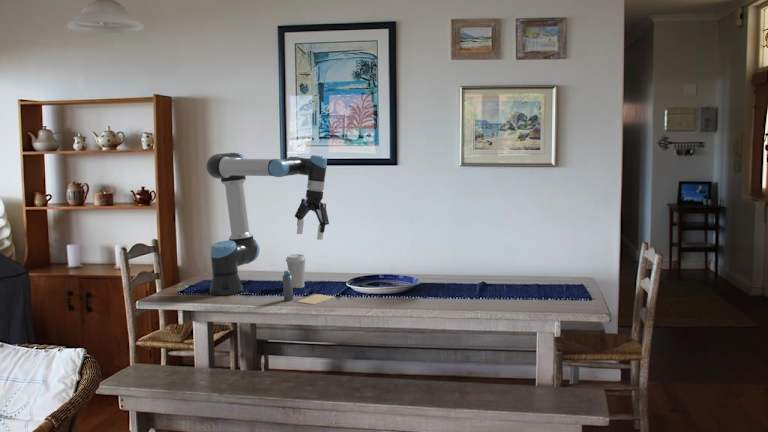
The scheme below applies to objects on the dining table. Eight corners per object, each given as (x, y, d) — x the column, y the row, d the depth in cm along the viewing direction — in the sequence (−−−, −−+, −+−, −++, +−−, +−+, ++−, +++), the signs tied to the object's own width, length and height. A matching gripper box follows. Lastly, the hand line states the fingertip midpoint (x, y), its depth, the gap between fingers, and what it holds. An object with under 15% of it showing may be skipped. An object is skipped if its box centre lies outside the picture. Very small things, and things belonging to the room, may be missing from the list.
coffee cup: (303, 289, 317) (302, 257, 316) (284, 288, 319) (282, 257, 317) (310, 284, 327) (308, 253, 325) (291, 284, 329) (289, 253, 327)
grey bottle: (282, 300, 298) (280, 271, 296) (288, 298, 301) (286, 269, 299) (288, 301, 295) (287, 272, 294) (295, 299, 299) (293, 270, 297)
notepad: (293, 301, 295) (293, 300, 295) (314, 294, 306) (314, 293, 306) (314, 304, 288) (314, 304, 288) (335, 297, 299) (335, 296, 299)
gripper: (290, 185, 308) (285, 231, 310) (328, 193, 292) (322, 242, 294) (302, 186, 314) (297, 231, 316) (340, 194, 298) (334, 241, 300)
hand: (309, 236), depth 305 cm, fingers open, 13 cm apart
